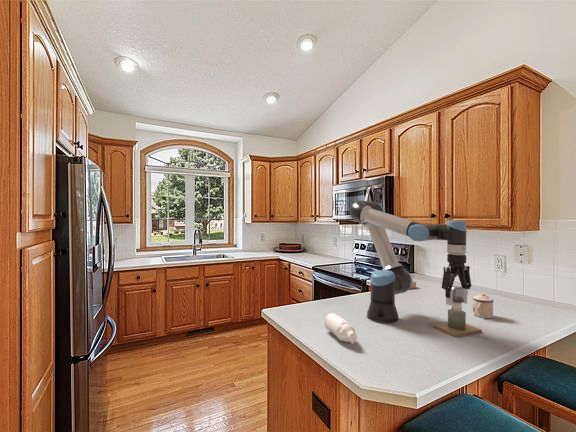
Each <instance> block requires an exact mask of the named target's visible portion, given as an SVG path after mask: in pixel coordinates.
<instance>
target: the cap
mask: <svg viewBox="0 0 576 432" xmlns="http://www.w3.org/2000/svg"><path fill="white" fill-rule="evenodd" d="M451 291H453V302H464V288H462V286H454V285H453V286H452V289H451Z"/></svg>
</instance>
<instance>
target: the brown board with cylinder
mask: <svg viewBox="0 0 576 432" xmlns="http://www.w3.org/2000/svg"><path fill="white" fill-rule="evenodd" d="M466 316H467V315H466V312H465V311H464V310H463V303H462V302H453V305H452V306H451V309H450V308H449V309H448V310H447V322H441V323H435V324H434V323H433V324H432V328H434V329H436V330H438V331H439V332H440V331H441V332H443V333H445V334H447V335H450V336H453V337H454V338H458V337H464V336H470V335H474V334H475V335H476V334H480V333H483V329H481V328H480V327H476V326H473V325H471V324H468V323H467V322H466Z"/></svg>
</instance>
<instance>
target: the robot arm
mask: <svg viewBox="0 0 576 432" xmlns="http://www.w3.org/2000/svg"><path fill="white" fill-rule="evenodd" d="M349 215H350V217H351V218H352V219H353V220H354V221H357V222H360V223H362V224H363V226H364V228H367V229H368V232H369V235H370V237H371V240H372V243H373V245H374V248H375V250H376V253H377V256H378V258H379V260H380V262H381V266H382V269H379V270H374V271H372V273H371V274H370V280H369V282H370V303H369V305H368V309H367V311H366V318H367V319H369V320H370V319H371V320H370V321H372V320H373V322H376V323H382V324H394V323H397V322H398V321H399V312H398V309H397V307H396V304H395V300H396V299H395V297H396V295H399V294H403V293H406V292H407V291H409V290H411V289H412V288H411V286H412V281H413V277H412V274H410V272H408V271H407V270H405V268H404V265H403V264H401V263H400V262H399V261H398V258H397V256H396V253H395V250H394V248H393V246H392V243H391V241H390V238H389V236H388V233H387V232H386V230H388V231H392V232H395V233H397V234H401V235H403V236H406V237H409V238H410V239H411V240H412V241H413V242H414V241H415V242H425V241H447V244H446V245H447V246H446V252H447V256H446V257H447V258H446V259H447V263H448V266H443V275H442V281H441V282H442V283H441V289H443V290H445V294H444V295H445V305H449V306H451V307H452V305H453V291H451V289H452V286H454V283H455V279H456V278H457V277H458V279H459V283H460V287H462V288H464V302H462V304H468V294H469V293H468V290H470V289H471V287H472V281H471V280H472V279H471V273H470V267H471V266H470V265H465V264H466V263H467V255H466V254H467V223H466V221H465V220H457V219H456V220H453V219H451V220H450V219H449V220H447V222H446V223H445V224H440V223H438V224H437V223H433V224H432V223H420V222H416V221H412V220H410V219H407V218H403V217H400V216H398V215H394V214H390V213H387V212H385V209H384V207H383V205H382V204H381V203H379V202H377V201H374V200H369V201H368V200H355V201H354V202H353V203H352V204H351V205H350V207H349ZM410 288H411V289H410Z"/></svg>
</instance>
